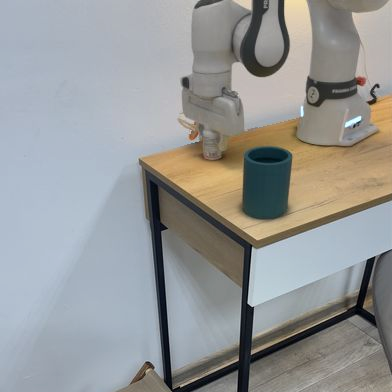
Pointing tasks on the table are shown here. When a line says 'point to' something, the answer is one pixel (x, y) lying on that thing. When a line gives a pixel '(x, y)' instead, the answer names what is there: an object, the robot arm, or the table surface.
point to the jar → (266, 182)
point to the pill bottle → (211, 143)
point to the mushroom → (192, 127)
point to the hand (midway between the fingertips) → (212, 145)
